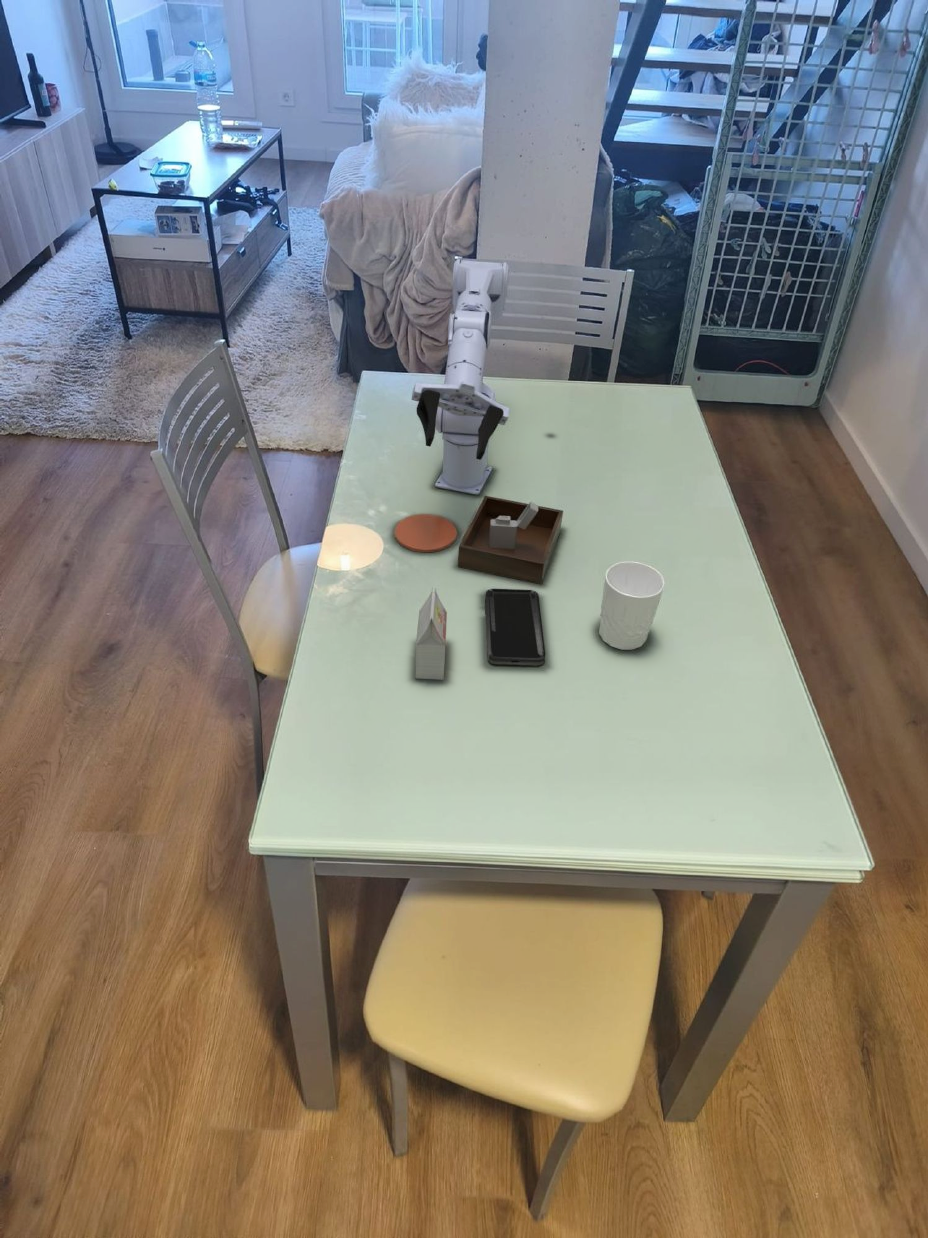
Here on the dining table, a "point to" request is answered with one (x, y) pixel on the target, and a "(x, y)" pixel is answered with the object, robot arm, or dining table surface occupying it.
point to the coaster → (425, 533)
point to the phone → (514, 627)
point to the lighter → (509, 528)
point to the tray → (529, 545)
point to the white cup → (629, 604)
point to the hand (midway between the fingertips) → (455, 448)
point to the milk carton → (431, 639)
